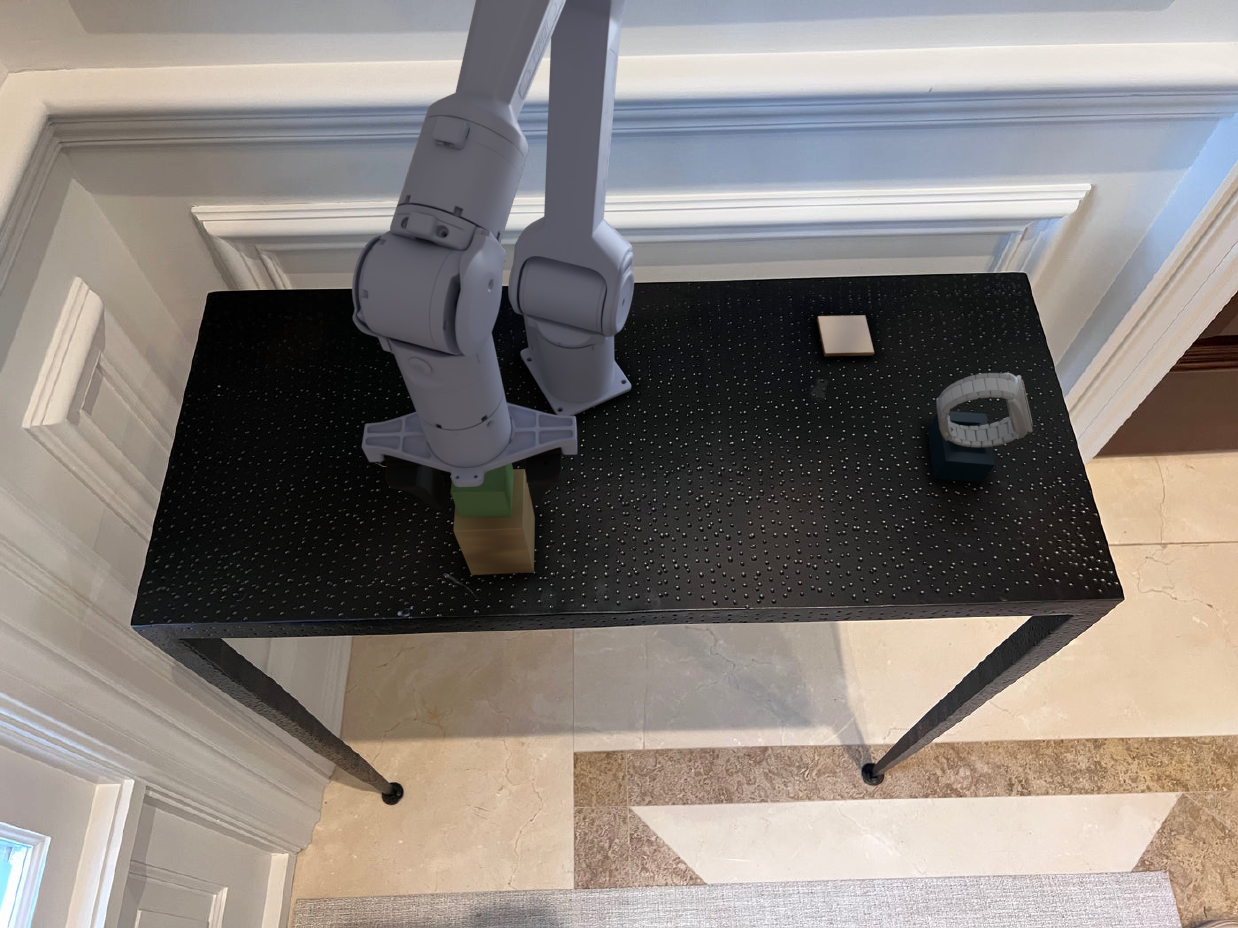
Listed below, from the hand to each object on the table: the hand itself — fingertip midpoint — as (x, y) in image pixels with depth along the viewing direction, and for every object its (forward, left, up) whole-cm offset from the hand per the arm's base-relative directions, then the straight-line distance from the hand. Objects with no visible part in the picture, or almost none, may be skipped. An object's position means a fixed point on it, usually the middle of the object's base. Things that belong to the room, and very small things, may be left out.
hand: (489, 496), depth 62 cm
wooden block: (0, 0, -9) cm, 9 cm away
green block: (-1, 0, 0) cm, 1 cm away
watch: (+12, +41, -9) cm, 44 cm away
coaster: (-5, +41, -9) cm, 42 cm away
